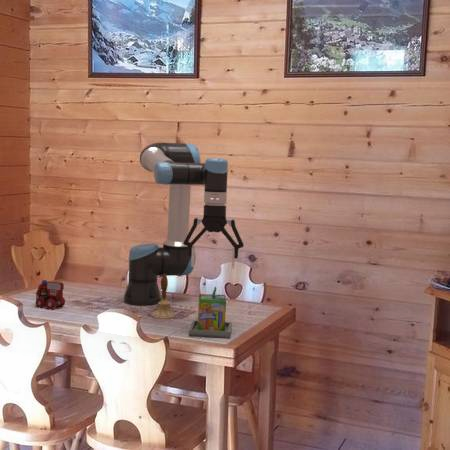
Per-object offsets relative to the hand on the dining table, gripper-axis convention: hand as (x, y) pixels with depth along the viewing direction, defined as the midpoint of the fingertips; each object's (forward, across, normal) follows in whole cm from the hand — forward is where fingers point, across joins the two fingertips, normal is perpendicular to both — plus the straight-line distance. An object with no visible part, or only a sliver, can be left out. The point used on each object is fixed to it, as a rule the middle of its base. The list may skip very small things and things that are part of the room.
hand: (212, 267), depth 231 cm
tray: (+22, 0, 0) cm, 23 cm away
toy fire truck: (+23, -64, +27) cm, 73 cm away
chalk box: (+22, 0, 0) cm, 22 cm away
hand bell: (+23, -19, +20) cm, 36 cm away
